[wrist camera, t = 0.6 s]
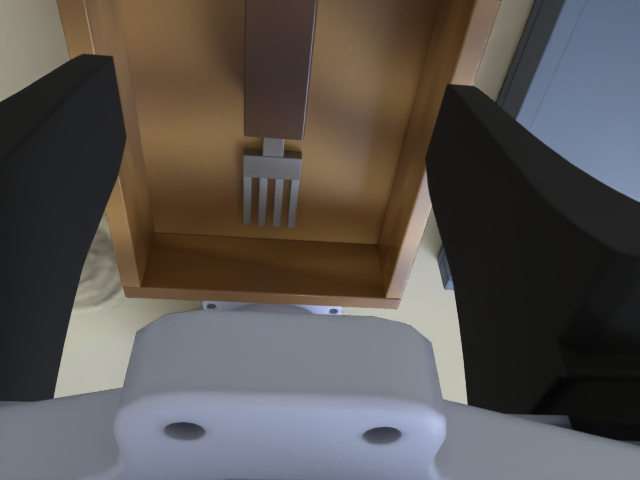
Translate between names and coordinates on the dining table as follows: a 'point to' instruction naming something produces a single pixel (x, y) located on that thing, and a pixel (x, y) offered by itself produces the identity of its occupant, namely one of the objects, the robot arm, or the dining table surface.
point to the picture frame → (579, 89)
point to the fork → (276, 97)
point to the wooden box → (317, 146)
